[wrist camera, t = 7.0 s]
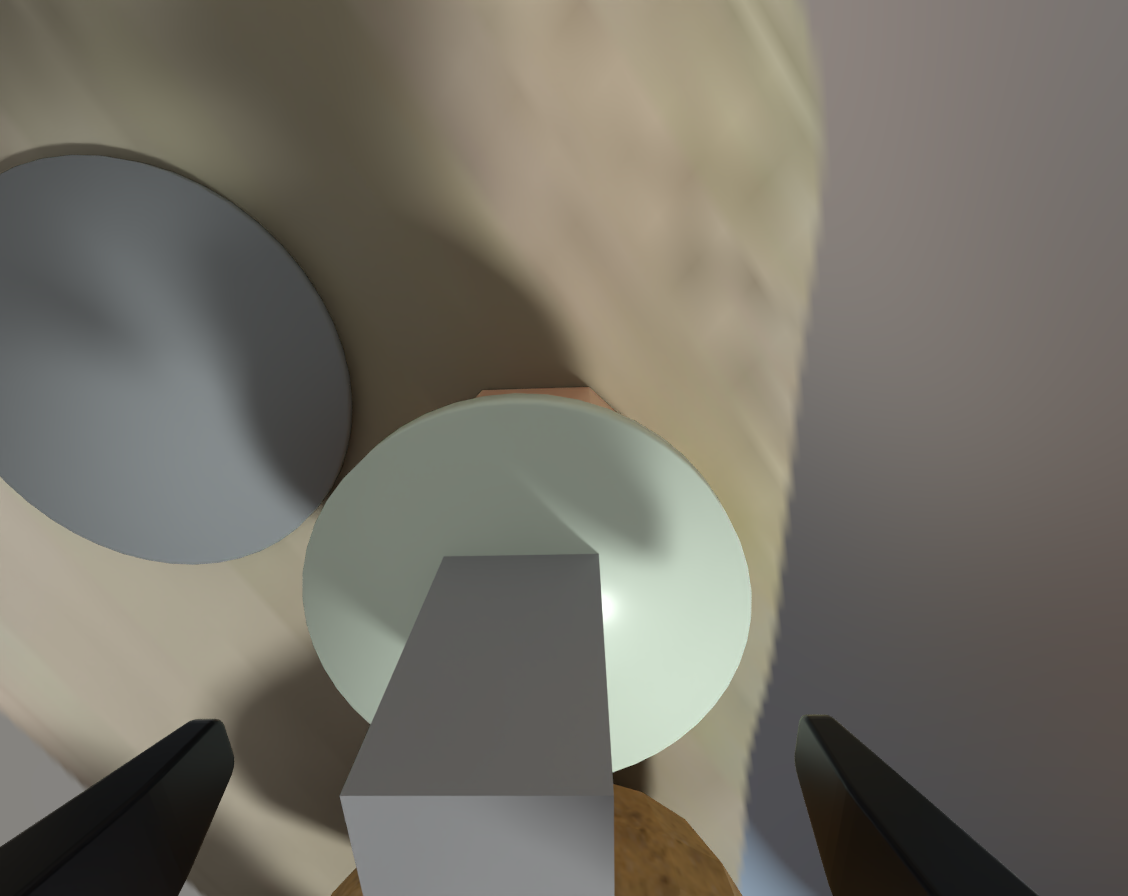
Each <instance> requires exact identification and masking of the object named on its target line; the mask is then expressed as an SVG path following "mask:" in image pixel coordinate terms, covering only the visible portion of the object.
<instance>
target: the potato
mask: <svg viewBox="0 0 1128 896" xmlns="http://www.w3.org/2000/svg"><path fill="white" fill-rule="evenodd" d="M613 790H614V896H742V894H741V893H740V891H739V890H738V888H737V887H736V885H735V883H734V882H733V880H732V879H731V877H730V875H729V874H728V872H727V871H726V869H725V868H724V866H723V864H722V863H721V862H720V860H719V859H718V858H717V857H716V856H715V854H714V853H713V852H712V851H711V850H710V849H709V847H708V846H707V845H706V844H705V843H704V841H703V840H702V839H701V838H700V837H699V835H698V834H697V833H696V832H695V831H694V829H693V828H692V827H691V826H690V825H689V824H688V822H687V821H686V820H685V819H684V818H682V817H680V816H679V815H677V814H676V813H674V812H673V811H671V810H669V809H668V808H666V807H665V806H663V805H662V804H660V803H658V802H657V801H655V800H654V799H652V798H651V797H649V796H647V795H646V794H644V793H643V792H639V791H636V790H633V789H629V788H626V787H622V786H619V785H615V784H613ZM331 896H363V893H362V889H361V884H360V880H359V876H358V872H357V867H356V869H355V870H354V871H353V872H352V873H351V874H350V875H349V876H348V877H347V878H346V879H345V880H344V881H343V882H342V883H341V884H340V886H339V887H338V888H337V889H336V890H335V891H334V892H333V893H332V895H331Z"/></svg>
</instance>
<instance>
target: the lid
mask: <svg viewBox="0 0 1128 896" xmlns="http://www.w3.org/2000/svg"><path fill="white" fill-rule="evenodd" d="M303 604H304V611H305V617H306V623H307V626H308V630H309V633H310V636H311V639H312V643H313V646H314V648H315V650H316V652H317V655H318V657H319V659H320V661H321V663H322V665H323V667H324V669H325V671H326V672H327V674H328V675H329V677H330V679H331V680H332V682H333V683H334V685H335V686H336V688H337V689H338V691H339V692H340V693H341V694H342V695H343V697H344V698H345V699H346V700H347V701H348V703H349V704H350V705H351V706H352V707H353V708H354V709H355V710H356V711H357V712H358V713H359V714H360V715H361V716H362V717H363V718H364V719H365V720H366V721H367V722H368V723H369V724H370V727H369V729H368V732H367V734H366V736H365V739H364V741H363V743H362V745H361V748H360V750H359V752H358V755H357V757H356V759H355V761H354V764H353V766H352V768H351V771H350V773H349V775H348V778H347V780H346V782H345V784H344V787H343V789H342V791H341V794H340V800H341V804H342V808H343V813H344V817H345V821H346V825H347V829H348V834H349V838H350V842H351V846H352V851H353V855H354V859H355V863H356V867H357V872H358V876H359V880H360V884H361V889H362V893H363V896H614V790H613V774H612V772H615V771H618V770H620V769H623V768H626V767H629V766H631V765H634V764H637V763H639V762H641V761H643V760H645V759H647V758H649V757H651V756H653V755H655V754H657V753H658V752H660V751H662V750H663V749H665V748H666V747H668V746H669V745H671V744H672V743H674V742H675V741H677V740H679V739H680V738H681V737H682V736H683V735H685V734H686V733H687V732H688V731H689V730H691V729H692V728H693V727H694V726H695V725H697V724H698V723H699V722H700V721H701V719H702V718H703V717H704V716H705V715H706V714H707V713H708V712H709V711H710V710H711V709H712V708H713V707H714V705H715V704H716V702H717V701H718V700H719V698H720V697H721V695H722V694H723V693H724V691H725V690H726V688H727V687H728V685H729V683H730V681H731V679H732V677H733V675H734V674H735V672H736V670H737V668H738V666H739V663H740V660H741V657H742V654H743V651H744V648H745V646H746V643H747V638H748V632H749V626H750V621H751V585H750V578H749V571H748V566H747V562H746V559H745V556H744V553H743V549H742V546H741V543H740V540H739V538H738V536H737V534H736V532H735V530H734V528H733V526H732V524H731V522H730V520H729V518H728V516H727V514H726V512H725V510H724V508H723V507H722V505H721V503H720V501H719V499H718V497H717V496H716V495H715V493H714V492H713V490H712V489H711V487H710V486H709V484H708V483H707V481H706V480H705V479H704V477H703V476H702V475H701V473H700V472H699V471H698V470H697V469H696V468H695V467H694V466H693V465H692V464H691V463H690V462H689V460H688V459H687V458H686V457H685V456H684V455H683V454H682V453H680V452H679V451H678V450H677V449H676V448H674V447H673V446H672V445H671V444H669V443H668V442H667V441H666V440H665V439H663V438H662V437H661V436H659V435H658V434H656V433H654V432H653V431H651V430H649V429H648V428H646V427H645V426H643V425H641V424H640V423H638V422H636V421H635V420H632V419H630V418H628V417H626V416H623V415H621V414H619V413H617V412H614V411H612V410H610V409H608V408H605V407H601V406H598V405H594V404H591V403H588V402H584V401H581V400H578V399H572V398H566V397H560V396H554V395H548V394H523V393H512V394H501V395H490V396H482V397H478V398H474V399H469V400H465V401H460V402H456V403H453V404H450V405H447V406H445V407H442V408H439V409H436V410H434V411H431V412H428V413H426V414H424V415H422V416H420V417H418V418H417V419H415V420H413V421H411V422H409V423H407V424H405V425H404V426H402V427H400V428H399V429H397V430H396V431H395V432H393V433H392V434H391V435H389V436H388V437H387V438H385V439H384V440H383V441H381V442H380V443H379V444H377V445H376V446H375V447H374V448H373V449H372V450H371V451H370V452H369V453H368V454H367V455H366V456H365V457H364V458H363V459H362V460H361V461H360V462H359V463H358V464H357V465H356V466H355V467H354V468H353V469H352V470H351V471H350V472H349V473H348V474H347V475H346V476H345V477H344V478H343V480H342V481H341V482H340V484H339V485H338V486H337V488H336V489H335V490H334V492H333V493H332V494H331V496H330V497H329V499H328V500H327V502H326V503H325V505H324V507H323V509H322V511H321V513H320V515H319V517H318V519H317V521H316V523H315V525H314V528H313V531H312V534H311V537H310V540H309V543H308V546H307V550H306V556H305V562H304V568H303Z"/></svg>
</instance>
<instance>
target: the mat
mask: <svg viewBox="0 0 1128 896" xmlns="http://www.w3.org/2000/svg"><path fill="white" fill-rule="evenodd" d="M351 426H352V394H351V385H350V376H349V371H348V367H347V363H346V359H345V354H344V350H343V347H342V345H341V342H340V339H339V336H338V334H337V331H336V328H335V326H334V323H333V321H332V319H331V317H330V315H329V313H328V311H327V309H326V307H325V305H324V303H323V301H322V299H321V297H320V295H319V294H318V292H317V291H316V289H315V288H314V286H313V285H312V283H311V282H310V280H309V279H308V277H307V276H306V274H305V273H304V271H303V270H302V269H301V267H300V266H299V265H298V264H297V263H296V261H295V260H294V259H293V258H292V257H291V255H290V254H289V253H288V252H287V251H286V249H285V248H284V247H283V246H282V245H281V244H280V243H279V242H278V241H277V240H276V239H275V238H274V237H273V236H272V235H271V234H270V233H269V232H268V231H267V230H266V229H265V228H263V227H262V226H261V225H260V224H259V223H258V222H257V221H256V220H254V219H253V218H252V217H250V216H249V215H248V214H246V213H245V212H244V211H243V210H241V209H240V208H239V207H237V206H236V205H235V204H233V203H232V202H230V201H229V200H227V199H225V198H224V197H222V196H220V195H219V194H217V193H215V192H214V191H212V190H210V189H209V188H207V187H205V186H203V185H201V184H199V183H197V182H194V181H192V180H190V179H188V178H186V177H183V176H181V175H179V174H177V173H174V172H171V171H168V170H165V169H161V168H158V167H155V166H152V165H148V164H145V163H140V162H134V161H129V160H123V159H117V158H111V157H106V156H91V155H67V156H59V157H51V158H43V159H39V160H36V161H32V162H29V163H26V164H22V165H19V166H16V167H13V168H11V169H10V170H8V171H6V172H4V173H2V174H0V476H1V477H2V478H3V480H4V481H5V482H6V483H7V484H8V485H9V486H11V487H12V488H13V489H14V490H15V491H16V492H17V493H18V494H20V495H21V496H22V497H23V498H24V499H25V500H26V501H27V502H29V503H30V504H31V505H33V506H34V507H35V508H37V509H38V510H39V511H41V512H42V513H44V514H45V515H46V516H48V517H49V518H50V519H52V520H54V521H55V522H57V523H58V524H60V525H62V526H63V527H65V528H67V529H68V530H70V531H72V532H73V533H75V534H77V535H79V536H82V537H84V538H86V539H88V540H90V541H92V542H94V543H96V544H98V545H101V546H104V547H106V548H109V549H112V550H114V551H117V552H120V553H123V554H126V555H130V556H134V557H138V558H142V559H146V560H151V561H158V562H165V563H171V564H207V563H219V562H223V561H228V560H233V559H238V558H242V557H244V556H247V555H250V554H253V553H256V552H259V551H261V550H263V549H265V548H267V547H269V546H271V545H273V544H275V543H277V542H278V541H280V540H282V539H283V538H284V537H286V536H287V535H288V534H290V533H291V532H293V531H294V530H295V529H297V528H298V527H299V526H300V525H301V524H302V523H303V522H304V521H305V520H306V519H307V518H308V517H309V516H310V515H311V514H312V513H313V512H314V511H315V510H316V509H317V508H318V506H319V505H320V504H321V502H322V501H323V500H324V498H325V497H326V496H327V494H328V493H329V491H330V490H331V488H332V486H333V484H334V482H335V480H336V478H337V476H338V474H339V473H340V470H341V467H342V464H343V461H344V458H345V455H346V452H347V449H348V444H349V438H350V432H351Z"/></svg>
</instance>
